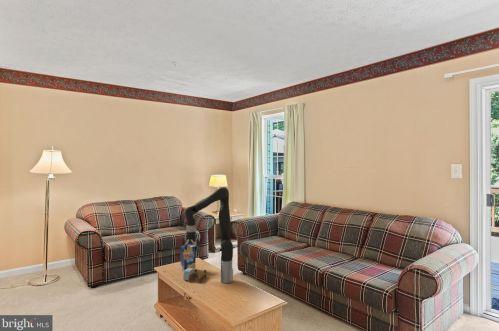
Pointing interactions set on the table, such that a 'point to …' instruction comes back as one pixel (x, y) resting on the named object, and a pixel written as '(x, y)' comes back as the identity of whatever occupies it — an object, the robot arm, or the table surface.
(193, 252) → the beverage box
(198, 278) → the rack
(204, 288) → the table surface
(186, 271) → the block
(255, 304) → the table surface
